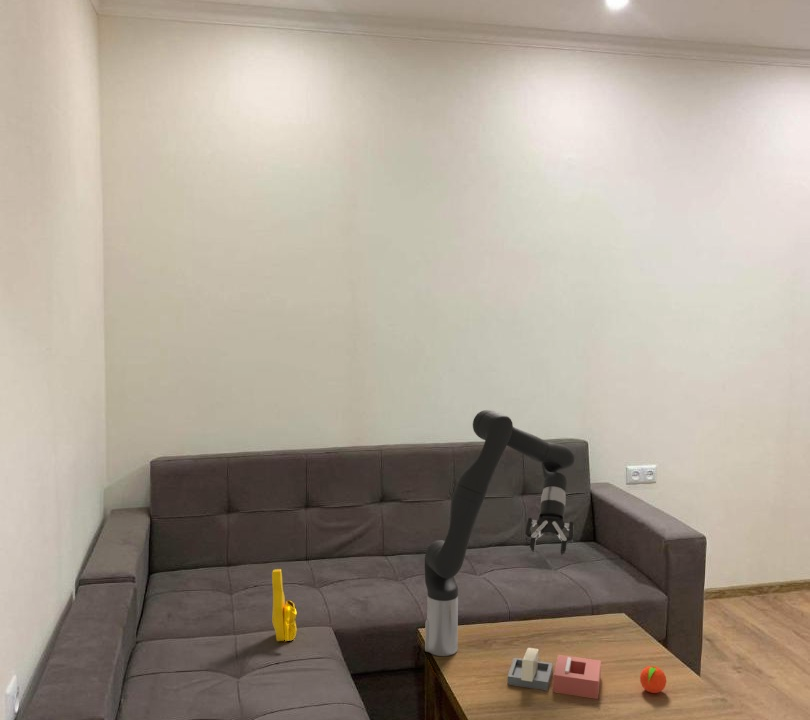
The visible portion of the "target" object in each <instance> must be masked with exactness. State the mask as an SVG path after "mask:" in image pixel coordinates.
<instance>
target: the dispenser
mask: <svg viewBox="0 0 810 720" xmlns="http://www.w3.org/2000/svg"><path fill="white" fill-rule="evenodd" d="M601 663H602V660H599V659H593V658H591V659H590V658H584V657H578V656H570V655H562V654H557V658H556V663H555V666H554V669H553V670H554V671H553V674H552V675H553V677H552V678H553V680H552V693H558V694H561V695H562V694H564V695H570V696H576V697H583V698H590V699H596V700H598V699H599V693H600V685H601V676H602V675H601V671H602V670H601V669H602V665H601Z"/></svg>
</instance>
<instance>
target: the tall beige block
mask: <svg viewBox="0 0 810 720" xmlns="http://www.w3.org/2000/svg"><path fill="white" fill-rule="evenodd" d="M521 659H522V677H521V680H524V681H531V682H532V681H533V679H534V676H535V674H536V672H537V669H538V661H539V648H533V647H527V649H526V651H525V653H524V656H523V658H521Z"/></svg>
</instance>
